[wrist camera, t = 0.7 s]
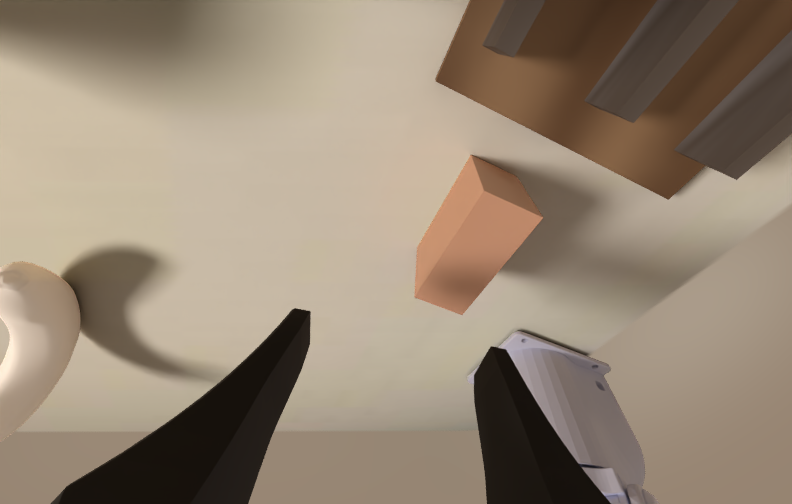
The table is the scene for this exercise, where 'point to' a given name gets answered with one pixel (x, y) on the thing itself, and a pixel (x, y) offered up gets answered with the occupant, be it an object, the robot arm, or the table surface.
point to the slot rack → (634, 79)
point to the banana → (33, 339)
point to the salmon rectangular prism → (473, 235)
